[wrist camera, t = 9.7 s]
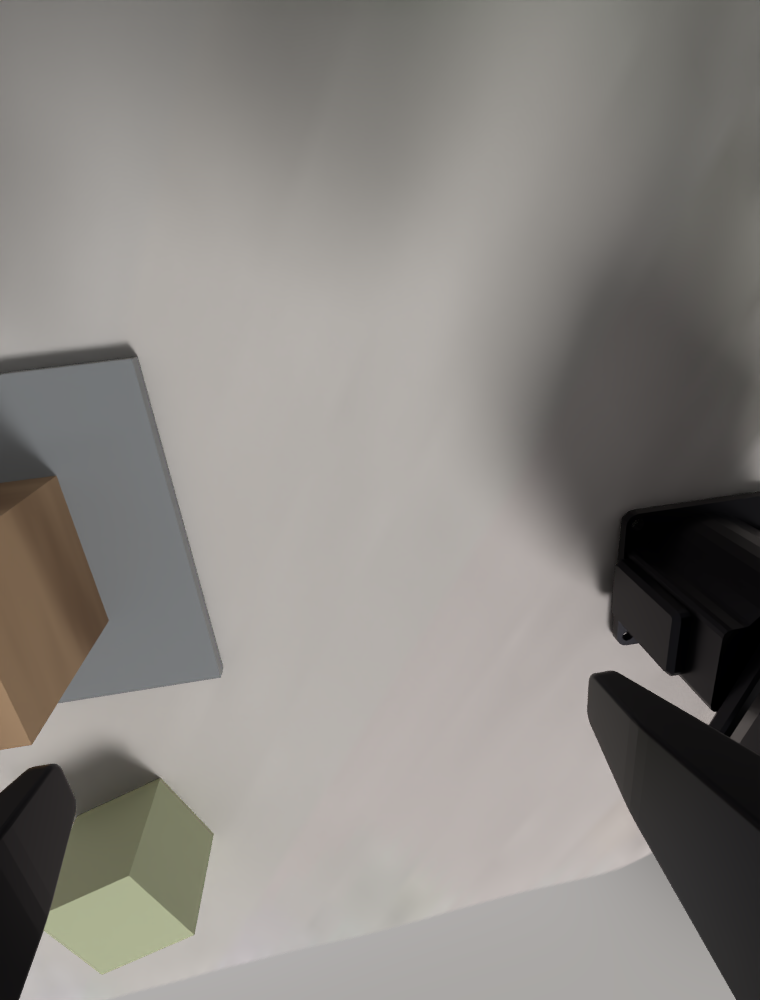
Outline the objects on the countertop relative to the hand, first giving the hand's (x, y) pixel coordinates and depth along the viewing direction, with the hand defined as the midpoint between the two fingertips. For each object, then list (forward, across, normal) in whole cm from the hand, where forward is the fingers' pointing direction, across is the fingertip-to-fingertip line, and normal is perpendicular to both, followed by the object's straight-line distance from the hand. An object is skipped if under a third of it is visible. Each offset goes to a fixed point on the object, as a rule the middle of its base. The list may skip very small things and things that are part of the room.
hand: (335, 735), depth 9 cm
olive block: (+12, +11, +16) cm, 23 cm away
